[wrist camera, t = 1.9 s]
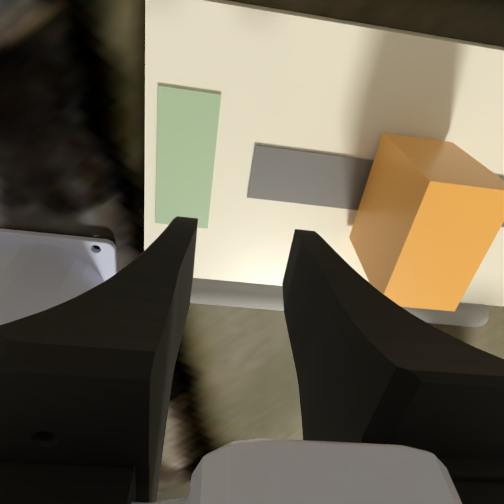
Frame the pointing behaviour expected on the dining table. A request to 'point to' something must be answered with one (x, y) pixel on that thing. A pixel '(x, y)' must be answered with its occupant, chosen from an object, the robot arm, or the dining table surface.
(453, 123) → the breaker panel
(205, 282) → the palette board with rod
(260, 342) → the dining table surface
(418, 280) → the block
